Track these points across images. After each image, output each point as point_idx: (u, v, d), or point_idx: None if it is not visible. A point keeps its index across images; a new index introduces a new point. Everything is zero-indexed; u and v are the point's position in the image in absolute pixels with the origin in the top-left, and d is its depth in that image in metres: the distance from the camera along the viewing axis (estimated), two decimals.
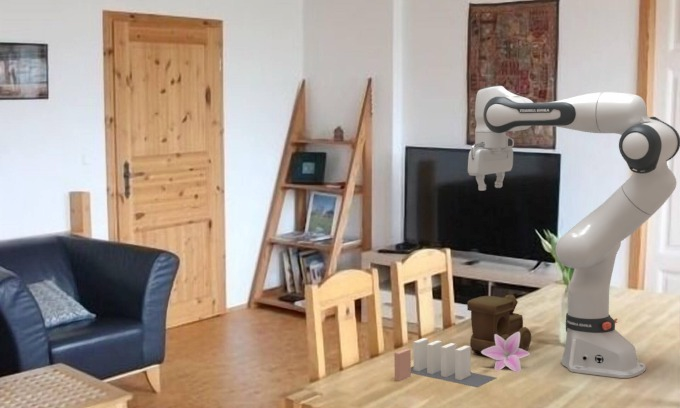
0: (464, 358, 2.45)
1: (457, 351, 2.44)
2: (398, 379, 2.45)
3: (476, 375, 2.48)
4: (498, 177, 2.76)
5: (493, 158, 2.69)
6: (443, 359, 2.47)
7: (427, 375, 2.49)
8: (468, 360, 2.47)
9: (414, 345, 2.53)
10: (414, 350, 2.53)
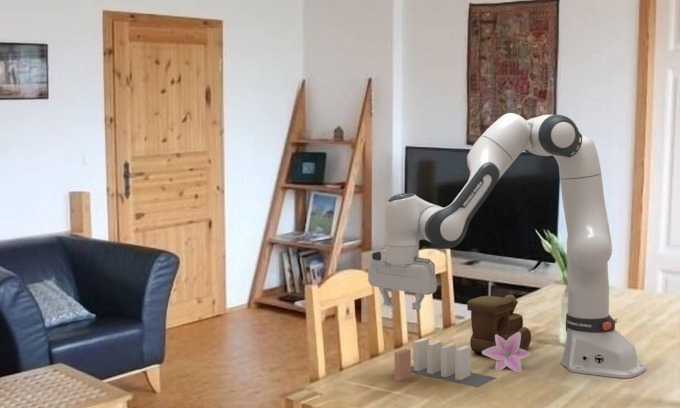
0: (464, 358, 2.45)
1: (457, 351, 2.44)
2: (398, 379, 2.45)
3: (476, 375, 2.48)
4: (384, 293, 2.48)
5: None
6: (443, 359, 2.47)
7: (427, 375, 2.49)
8: (468, 360, 2.47)
9: (414, 345, 2.53)
10: (414, 350, 2.53)
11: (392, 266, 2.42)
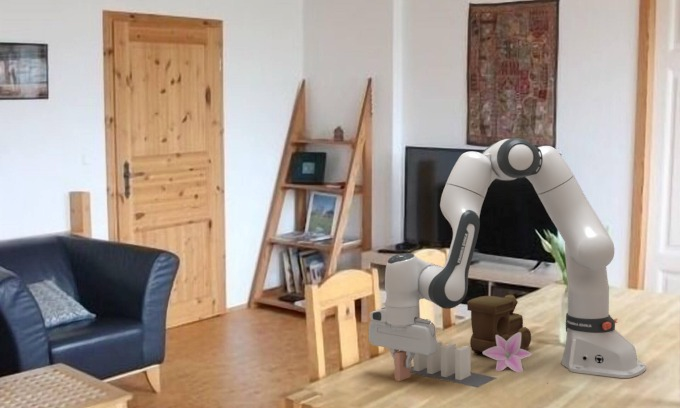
0: (464, 358, 2.45)
1: (457, 351, 2.44)
2: (398, 379, 2.45)
3: (476, 375, 2.48)
4: (394, 354, 2.47)
5: None
6: (443, 359, 2.47)
7: (427, 375, 2.49)
8: (468, 360, 2.47)
9: None
10: None
11: (392, 326, 2.43)
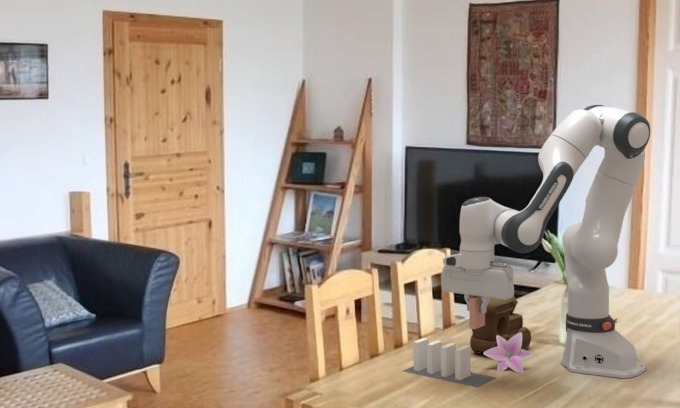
0: (464, 358, 2.45)
1: (457, 351, 2.44)
2: (473, 325, 2.40)
3: (476, 375, 2.48)
4: None
5: None
6: (443, 359, 2.47)
7: (427, 375, 2.49)
8: (468, 360, 2.47)
9: (414, 345, 2.53)
10: (414, 350, 2.53)
11: (468, 271, 2.38)
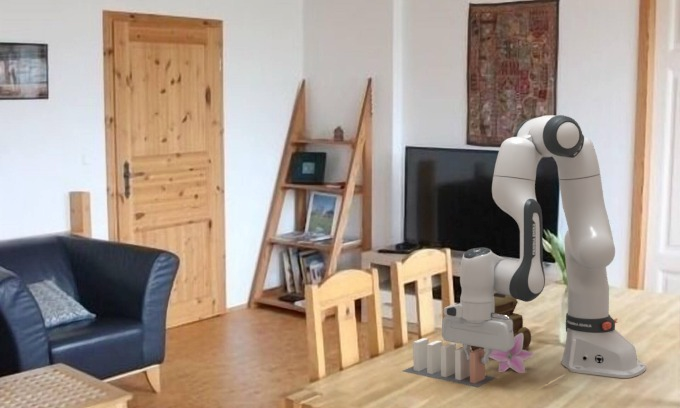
0: (464, 358, 2.45)
1: (457, 351, 2.44)
2: (473, 379, 2.41)
3: None
4: (467, 350, 2.44)
5: None
6: (443, 359, 2.47)
7: (427, 375, 2.49)
8: None
9: (414, 345, 2.53)
10: (414, 350, 2.53)
11: (468, 322, 2.40)
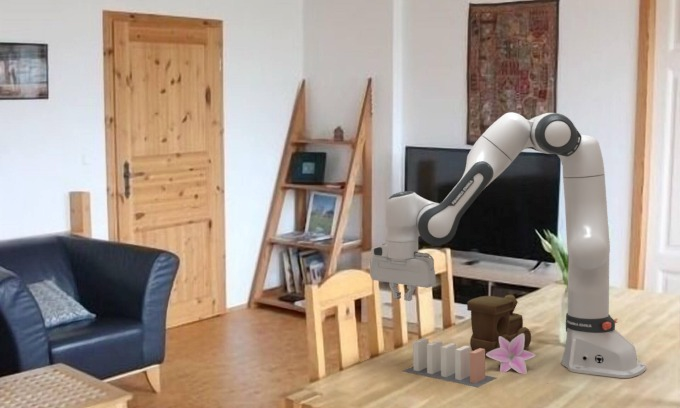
0: (464, 358, 2.45)
1: (457, 351, 2.44)
2: (473, 379, 2.41)
3: None
4: (393, 288, 2.58)
5: None
6: (443, 359, 2.47)
7: (427, 375, 2.49)
8: (468, 360, 2.47)
9: (414, 345, 2.53)
10: (414, 350, 2.53)
11: (393, 261, 2.54)
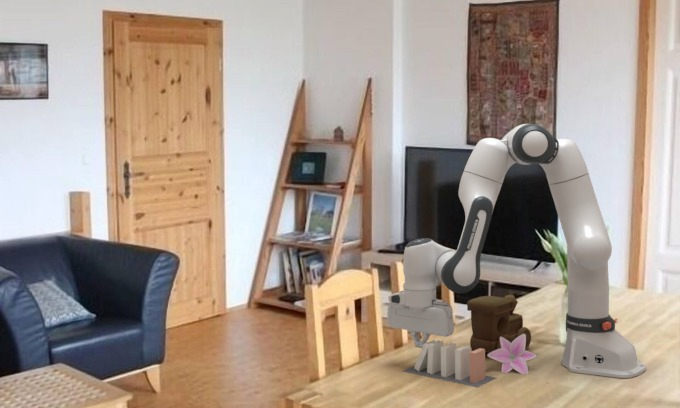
0: (464, 358, 2.45)
1: (457, 351, 2.44)
2: (473, 379, 2.41)
3: None
4: (415, 336, 2.55)
5: None
6: (443, 359, 2.47)
7: (427, 375, 2.49)
8: (468, 360, 2.47)
9: (423, 347, 2.51)
10: (421, 351, 2.51)
11: (411, 309, 2.52)
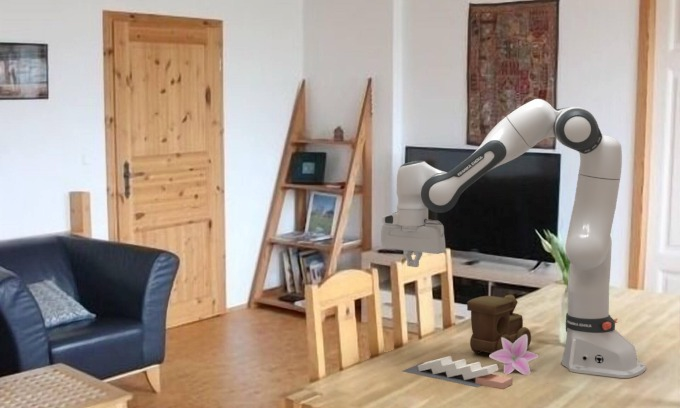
0: None
1: (486, 371, 2.38)
2: (478, 382, 2.40)
3: None
4: (408, 256, 2.63)
5: None
6: (460, 371, 2.44)
7: (427, 375, 2.49)
8: None
9: (438, 362, 2.48)
10: (434, 363, 2.49)
11: (404, 228, 2.60)
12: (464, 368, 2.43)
